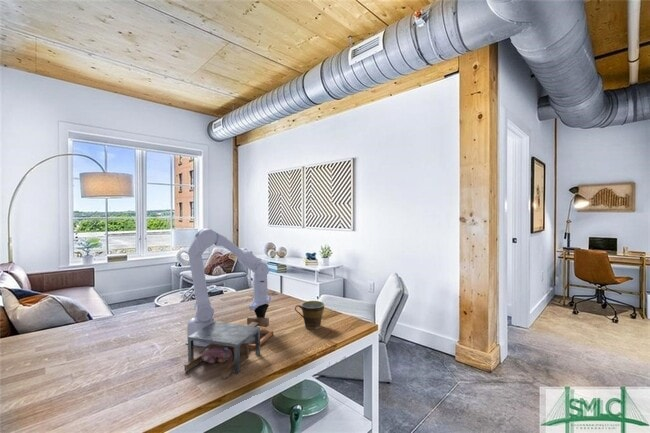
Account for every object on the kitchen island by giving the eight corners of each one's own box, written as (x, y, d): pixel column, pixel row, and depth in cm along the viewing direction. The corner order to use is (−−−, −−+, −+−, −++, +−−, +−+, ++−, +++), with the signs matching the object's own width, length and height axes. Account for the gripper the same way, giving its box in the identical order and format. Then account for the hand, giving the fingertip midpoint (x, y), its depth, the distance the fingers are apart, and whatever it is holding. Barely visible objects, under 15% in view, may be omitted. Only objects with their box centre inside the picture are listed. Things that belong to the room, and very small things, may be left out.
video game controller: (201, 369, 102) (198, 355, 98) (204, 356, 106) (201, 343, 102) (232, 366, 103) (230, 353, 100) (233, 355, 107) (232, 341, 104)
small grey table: (188, 364, 101) (187, 336, 101) (215, 346, 115) (214, 321, 114) (237, 374, 96) (237, 344, 95) (260, 353, 109) (259, 327, 109)
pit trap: (225, 345, 116) (225, 341, 116) (245, 330, 129) (245, 327, 129) (255, 349, 112) (255, 345, 112) (273, 334, 125) (273, 330, 125)
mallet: (184, 370, 97) (184, 351, 97) (243, 329, 130) (243, 315, 129) (224, 378, 93) (224, 358, 92) (275, 334, 125) (275, 319, 125)
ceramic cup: (325, 323, 138) (325, 301, 137) (323, 332, 128) (323, 308, 127) (297, 321, 139) (297, 300, 139) (292, 330, 129) (292, 307, 129)
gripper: (260, 295, 120) (260, 329, 120) (276, 286, 134) (277, 317, 134) (244, 294, 122) (245, 327, 122) (262, 285, 136) (262, 315, 136)
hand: (260, 322), depth 128 cm, fingers closed
